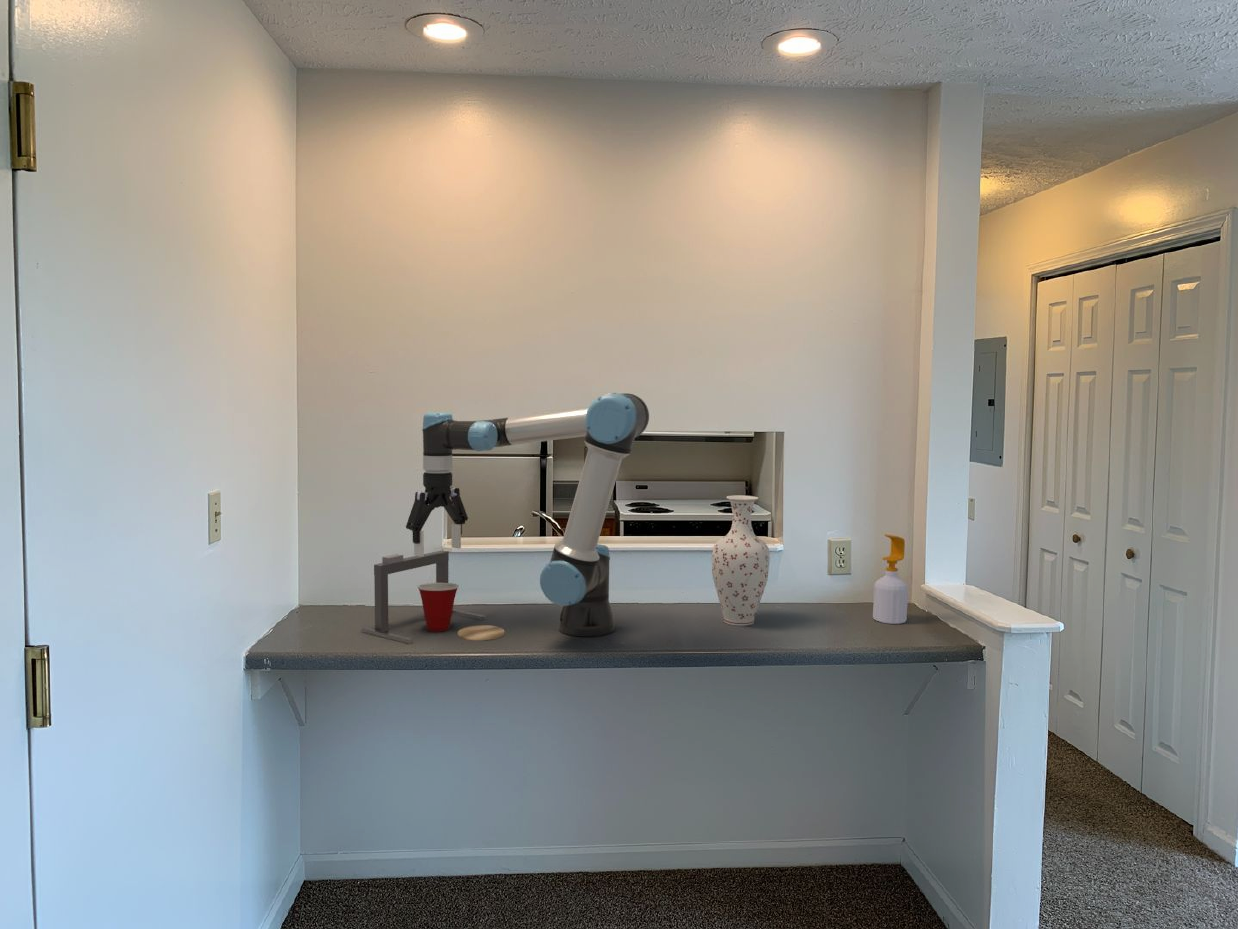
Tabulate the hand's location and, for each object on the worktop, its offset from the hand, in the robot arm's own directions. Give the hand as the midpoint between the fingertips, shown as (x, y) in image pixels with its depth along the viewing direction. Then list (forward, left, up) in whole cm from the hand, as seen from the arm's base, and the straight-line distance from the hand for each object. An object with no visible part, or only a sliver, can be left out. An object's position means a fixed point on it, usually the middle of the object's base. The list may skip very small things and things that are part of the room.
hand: (438, 552), depth 226 cm
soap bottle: (-96, -81, -21) cm, 127 cm away
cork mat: (-13, -3, -21) cm, 24 cm away
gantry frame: (+9, 0, -21) cm, 23 cm away
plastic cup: (0, 0, -21) cm, 21 cm away
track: (+5, 0, -21) cm, 21 cm away
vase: (-62, -54, -21) cm, 85 cm away
